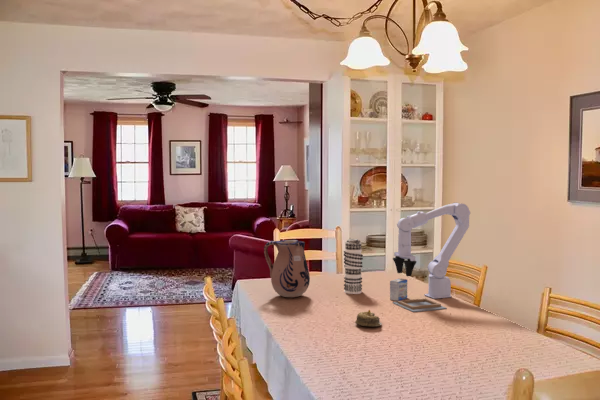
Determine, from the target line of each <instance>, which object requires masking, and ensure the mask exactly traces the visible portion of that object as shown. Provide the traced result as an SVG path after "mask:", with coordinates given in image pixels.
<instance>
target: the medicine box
mask: <svg viewBox="0 0 600 400" xmlns="http://www.w3.org/2000/svg"><path fill="white" fill-rule="evenodd" d="M407 299H408V279H406V278H397V279H393V280H389V300H391V301H393V302H398V301H402V300H407Z"/></svg>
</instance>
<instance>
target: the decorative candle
mask: <svg viewBox="0 0 600 400" xmlns="http://www.w3.org/2000/svg"><path fill="white" fill-rule="evenodd" d="M344 243H345V248H344V250H343V256H344V258H343V260H344V261H343V263H344V277H343V282H344V283H343V286H344V287H343V292H344V294H349V295H353V294H354V295H359V294H361V293H363V291H362V290H363V288H362V287H363V284H362V283H363V281H362V280H363V277H362V269H363V265H362V264H363V262H362V260H364V258H363V256H364V255H363V254H362V252H363V251H362V244H363V242H362V241H361V240H360V239H359V238H348V239H346V241H345V242H344Z"/></svg>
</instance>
